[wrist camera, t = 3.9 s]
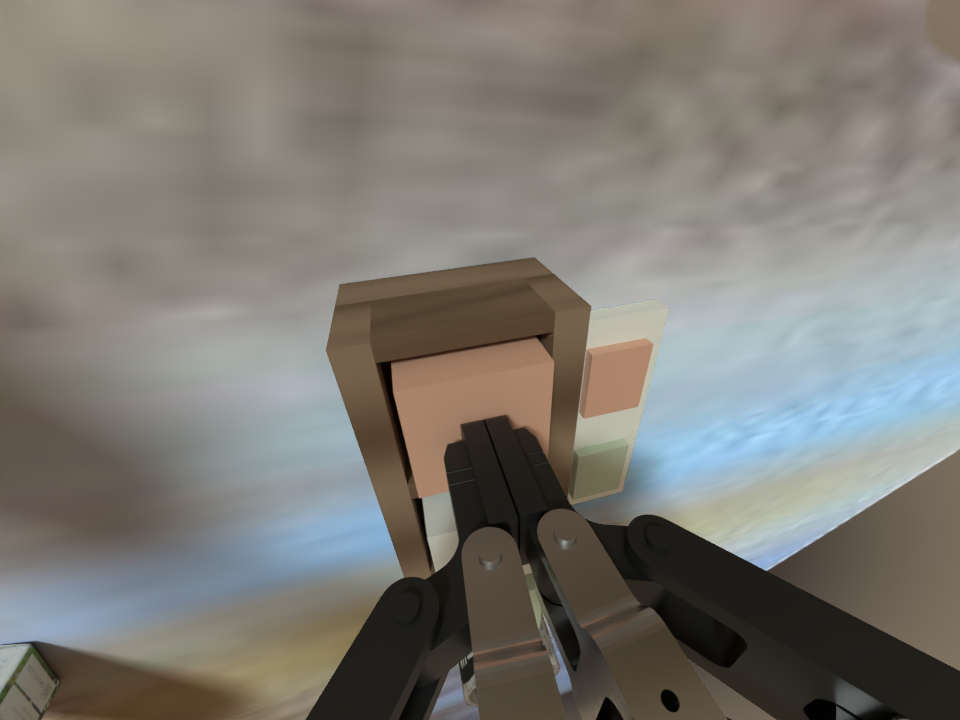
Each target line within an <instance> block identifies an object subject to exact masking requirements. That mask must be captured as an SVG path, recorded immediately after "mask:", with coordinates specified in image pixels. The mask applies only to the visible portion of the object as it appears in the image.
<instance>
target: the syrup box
mask: <svg viewBox="0 0 960 720" xmlns="http://www.w3.org/2000/svg"><path fill="white" fill-rule="evenodd" d="M59 686H60V682H59V680H58V679H57V678H56V676H55V675H54V674H53V672H52V671H51V670H50V668H49V667H48V666H47V664H46V663H45V661H44V660H43V659H42V658H41V656H40V655H39V653H38V652H37V651H36V649H35V648H34V647H33V646H32V644H12V645H0V720H41V719H42V717H43V715H44V714H45V712H46V710H47V708H48V706H49V704H50V703H51V701H52V699H53V697H54V695H55V693H56V692H57V690H58V688H59Z"/></svg>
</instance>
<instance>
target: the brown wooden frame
mask: <svg viewBox="0 0 960 720" xmlns="http://www.w3.org/2000/svg"><path fill="white" fill-rule="evenodd" d="M590 312H591V306H590V305H589V304H588V303H587V302H586V301H585V300H583V299H582V298H581V297H580V296H579V295H578V294H576V293H575V292H574V291H573V290H572V289H571V288H569V287H568V286H567V285H566V284H565V283H564V282H562V281H561V280H560V279H559V278H558V277H557V276H555V275H554V274H553V273H552V272H551V271H550V270H549V269H547V268H546V267H545V266H544V265H543V264H542V263H540V262H539V261H538V260H537V259H536V258H535V257H534V258H527V259H520V260H513V261H505V262H498V263H491V264H484V265H477V266H469V267H462V268H455V269H448V270H441V271H433V272H426V273H419V274H412V275H405V276H398V277H390V278H383V279H376V280H369V281H362V282H354V283H347V284H340V285H339V290H338V295H337V300H336V305H335V309H334V314H333V319H332V324H331V329H330V333H329V338H328V343H327V348H326V352H327V355H328V358H329V360H330V363H331V366H332V369H333V372H334V375H335V378H336V381H337V384H338V387H339V389H340V392H341V395H342V398H343V401H344V404H345V407H346V410H347V413H348V415H349V418H350V421H351V424H352V427H353V430H354V433H355V436H356V439H357V441H358V444H359V447H360V450H361V453H362V456H363V459H364V462H365V465H366V467H367V470H368V473H369V476H370V479H371V482H372V485H373V488H374V491H375V494H376V496H377V499H378V502H379V505H380V508H381V511H382V514H383V517H384V520H385V522H386V525H387V528H388V531H389V534H390V537H391V540H392V543H393V546H394V548H395V551H396V554H397V557H398V560H399V563H400V566H401V569H402V572H403V575H404V577H405V578H407V577H420V578H422V579H427V578H428V577H429V576H431V575H432V574H434V573H435V568H434V564H433V559H432V555H431V551H430V547H429V543H428V539H427V532H426V525H425V517H424V509H423V501H422V498H419V496H418V492H417V488H416V484H415V480H414V476H413V472H412V468H411V463H410V459H409V455H408V451H407V447H406V443H405V439H404V435H403V431H402V426H401V422H400V418H399V414H398V410H397V406H396V402H395V398H394V393H393V382H392V368H391V361H392V360H397V359H403V358H409V357H414V356H420V355H426V354H431V353H437V352H443V351H448V350H454V349H460V348H465V347H471V346H477V345H482V344H488V343H494V342H500V341H505V340H511V339H517V338H522V337H528V336H534V335H535V336H536V338H537V339H538V340H539V342H540V343H541V344H542V346H543V347H544V348H545V350H546V351H547V352H548V354H549V355H550V356H551V358H552V359H553V360H554V375H553V390H552V404H551V419H550V433H549V448H548V462H549V464H550V465H551V467H552V469H553V471H554V473H555V475H556V477H557V479H558V481H559V483H560V485H561V487H562V489H563V491H564V493H565V495H566V497H567V498H568V490H569V482H570V474H571V466H572V457H573V449H574V441H575V433H576V425H577V417H578V409H579V401H580V393H581V385H582V377H583V369H584V361H585V352H586V344H587V336H588V328H589V320H590Z"/></svg>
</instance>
